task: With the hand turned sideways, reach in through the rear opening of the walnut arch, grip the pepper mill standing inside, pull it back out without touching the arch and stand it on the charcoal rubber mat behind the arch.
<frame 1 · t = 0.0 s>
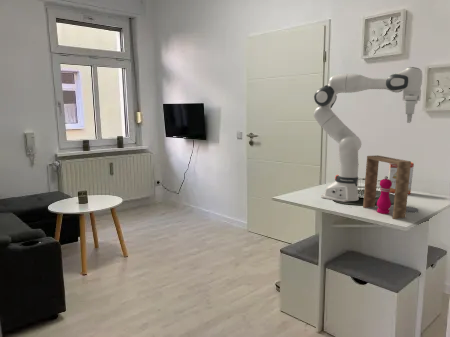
hand: (409, 122, 208), 48 cm above the table, tool pointing down, fingers open, 8 cm apart
cracker box: (398, 192, 249), on the table
pepper mill: (383, 212, 201), on the table
walnut arch: (383, 212, 201), on the table
charcoal mat: (407, 209, 207), on the table
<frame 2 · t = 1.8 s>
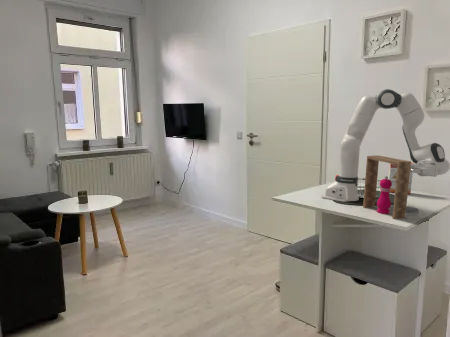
hand: (404, 169, 201), 23 cm above the table, tool horizontal, fingers open, 8 cm apart
nothing on the table moved.
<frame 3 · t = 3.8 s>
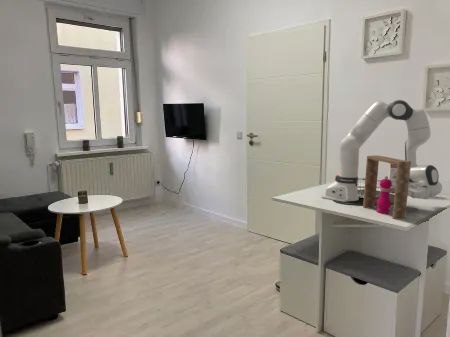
hand: (396, 191, 202), 11 cm above the table, tool horizontal, fingers open, 8 cm apart
nothing on the table moved.
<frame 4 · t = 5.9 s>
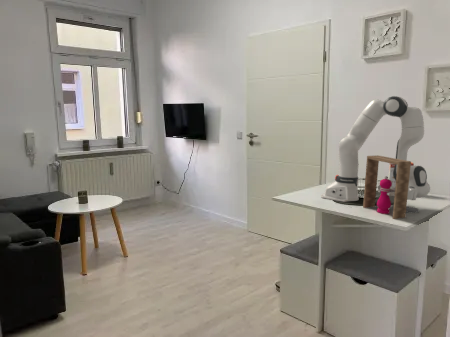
hand: (383, 192, 199), 11 cm above the table, tool horizontal, fingers closed on pepper mill, 5 cm apart
pepper mill: (383, 212, 201), on the table, touching gripper
everything else where it was.
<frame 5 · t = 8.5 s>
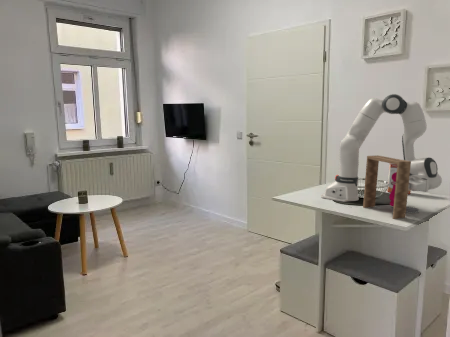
hand: (395, 184, 201), 15 cm above the table, tool horizontal, fingers closed on pepper mill, 5 cm apart
pepper mill: (395, 205, 203), point 3 cm above the table, touching gripper
everything else where it was.
when the fingers open (13 cm above the table, at t = 10.9 s): pepper mill stays where it is, resting on charcoal mat.
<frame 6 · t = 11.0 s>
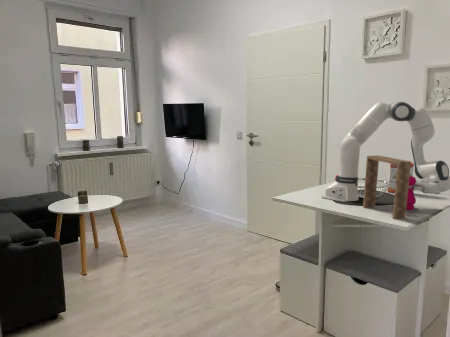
hand: (408, 187, 204), 13 cm above the table, tool horizontal, fingers open, 5 cm apart
pepper mill: (407, 208, 207), point 1 cm above the table, touching charcoal mat
everything else where it was.
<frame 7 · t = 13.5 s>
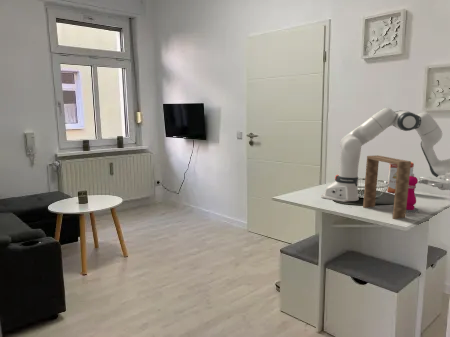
hand: (426, 183, 209), 14 cm above the table, tool horizontal, fingers open, 8 cm apart
nothing on the table moved.
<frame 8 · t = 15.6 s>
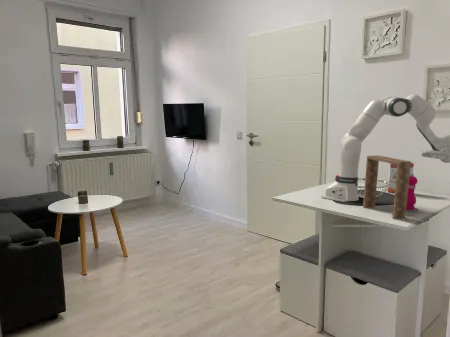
hand: (429, 155, 206), 30 cm above the table, tool horizontal, fingers open, 8 cm apart
nothing on the table moved.
at the end: pepper mill inside the target area on the charcoal mat (0.5 cm from its centre), point 0.5 cm above the charcoal mat's base; pepper mill tilted 1°; the gripper is holding nothing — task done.
